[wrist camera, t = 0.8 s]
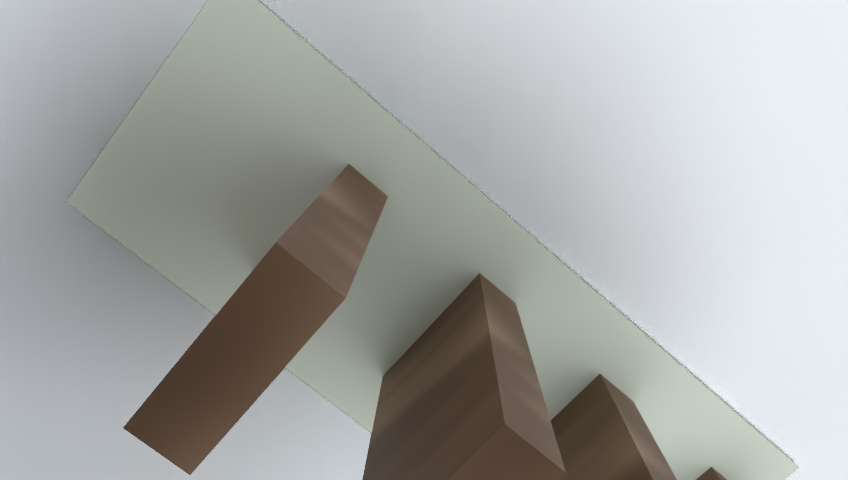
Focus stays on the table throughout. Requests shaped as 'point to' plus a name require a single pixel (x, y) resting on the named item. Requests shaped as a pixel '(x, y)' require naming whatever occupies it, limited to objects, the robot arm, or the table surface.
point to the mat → (390, 242)
